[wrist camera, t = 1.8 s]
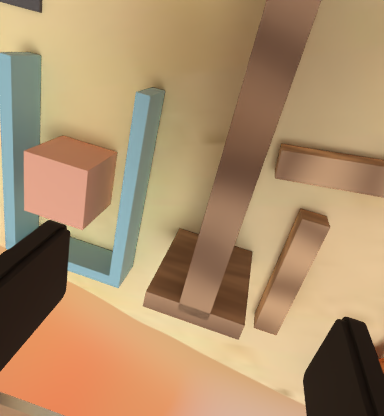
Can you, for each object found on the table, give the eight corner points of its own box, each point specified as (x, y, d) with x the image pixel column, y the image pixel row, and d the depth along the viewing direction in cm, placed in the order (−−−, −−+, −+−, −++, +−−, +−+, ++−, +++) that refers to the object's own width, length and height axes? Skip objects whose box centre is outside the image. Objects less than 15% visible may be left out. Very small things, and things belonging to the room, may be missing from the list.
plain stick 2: (300, 207, 32) (302, 218, 29) (326, 215, 31) (330, 227, 29) (254, 311, 38) (253, 327, 36) (275, 318, 38) (276, 335, 36)
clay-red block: (63, 135, 34) (23, 150, 28) (117, 152, 33) (87, 171, 28) (60, 187, 36) (24, 210, 31) (110, 203, 36) (82, 230, 31)
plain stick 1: (275, 169, 31) (275, 178, 28) (281, 142, 29) (281, 150, 27) (438, 197, 28) (452, 209, 26) (451, 170, 27) (467, 180, 25)
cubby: (29, 52, 31) (-3, 52, 27) (165, 90, 29) (150, 96, 26) (29, 231, 40) (5, 248, 36) (132, 266, 39) (118, 288, 35)
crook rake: (257, -80, 23) (246, -169, 14) (371, -54, 22) (441, -129, 13) (176, 240, 36) (142, 306, 27) (247, 263, 35) (238, 339, 26)
